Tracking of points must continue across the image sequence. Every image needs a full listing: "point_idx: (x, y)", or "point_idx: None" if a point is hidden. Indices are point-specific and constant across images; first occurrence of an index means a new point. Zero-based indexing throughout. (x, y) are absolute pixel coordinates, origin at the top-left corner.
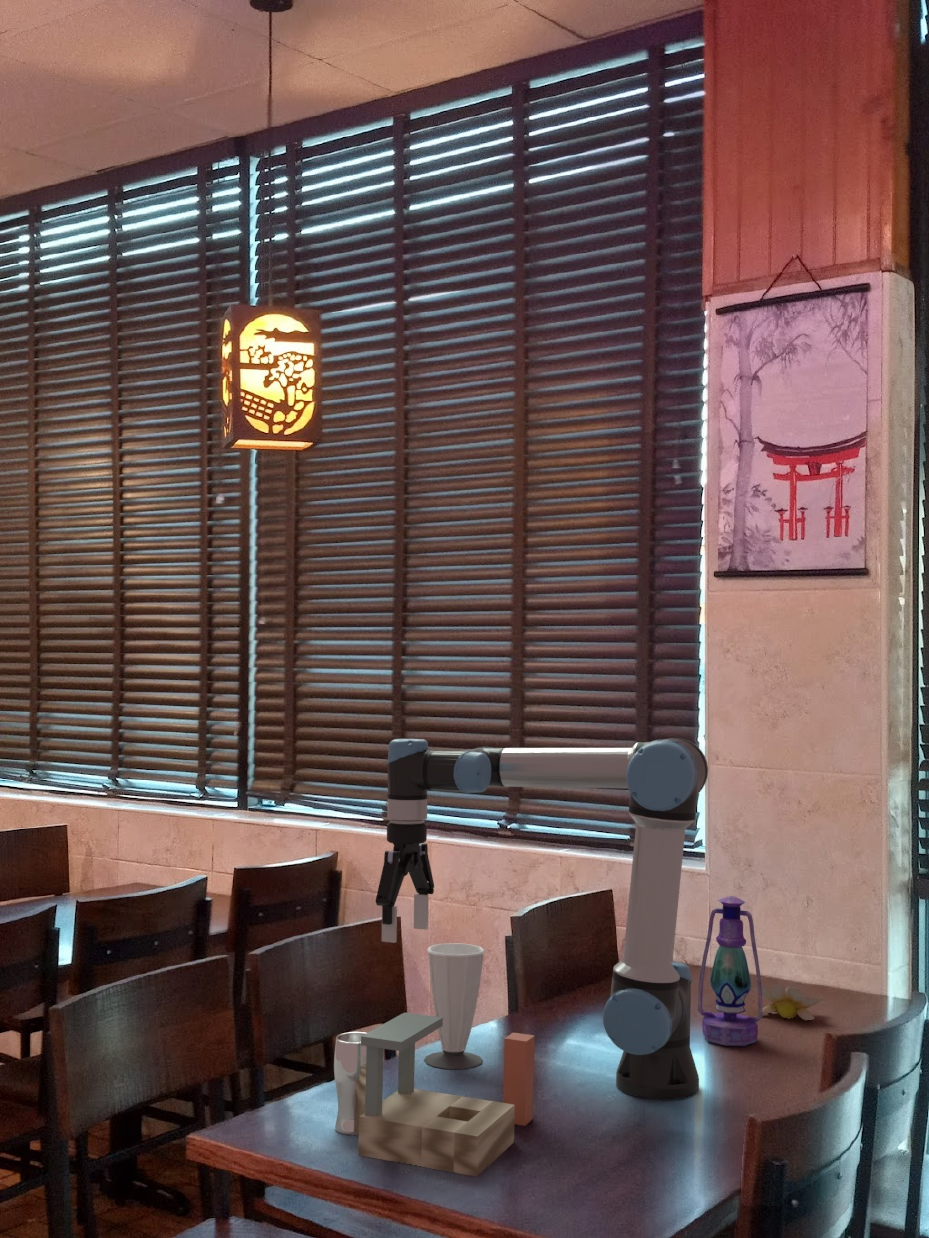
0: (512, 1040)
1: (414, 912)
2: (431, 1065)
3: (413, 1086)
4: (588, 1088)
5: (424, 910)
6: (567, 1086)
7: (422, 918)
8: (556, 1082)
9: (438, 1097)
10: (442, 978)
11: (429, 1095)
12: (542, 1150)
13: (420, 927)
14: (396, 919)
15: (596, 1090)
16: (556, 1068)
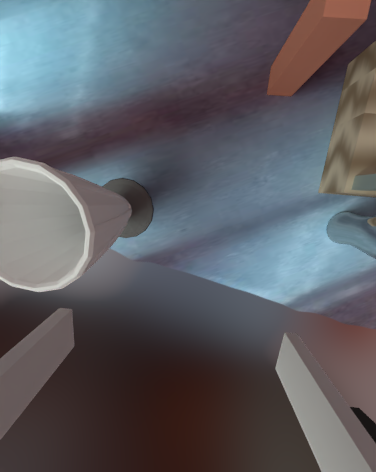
0: (369, 1)
1: (33, 394)
2: (149, 223)
3: (360, 175)
4: (151, 30)
5: (16, 370)
6: (154, 59)
7: (46, 348)
8: (145, 77)
9: (373, 140)
10: (109, 231)
11: (368, 152)
12: (366, 23)
13: (70, 330)
14: (340, 412)
15: (154, 18)
16: (98, 92)
